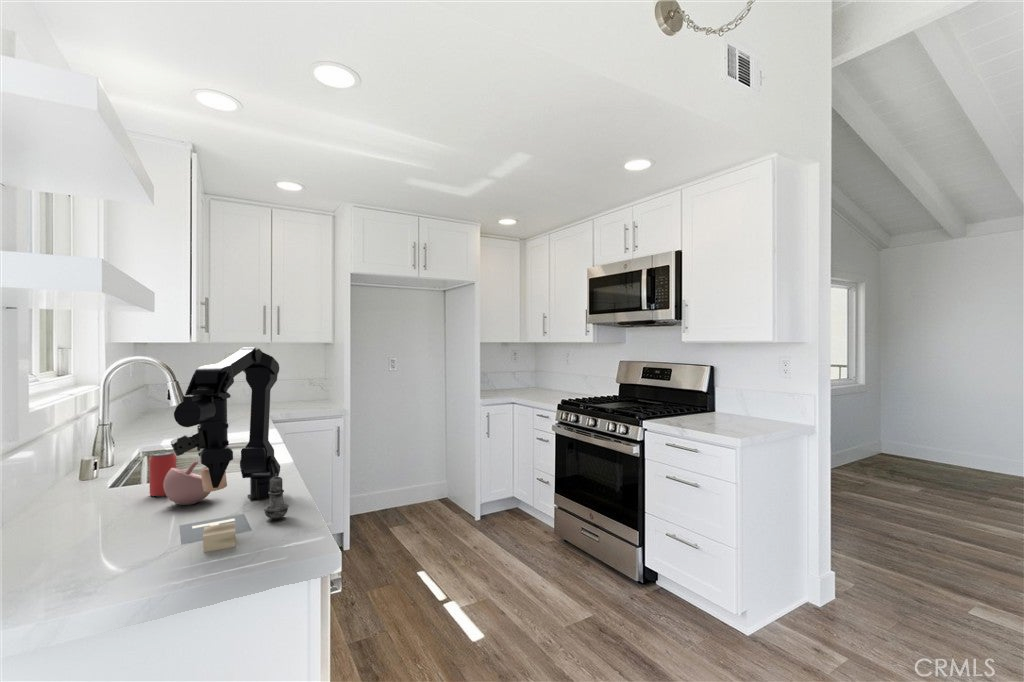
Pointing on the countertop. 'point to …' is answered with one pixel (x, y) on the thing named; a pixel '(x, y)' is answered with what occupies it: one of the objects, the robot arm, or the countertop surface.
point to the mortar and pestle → (184, 486)
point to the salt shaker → (276, 502)
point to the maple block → (219, 537)
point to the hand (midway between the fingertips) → (214, 484)
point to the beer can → (160, 471)
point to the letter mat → (196, 530)
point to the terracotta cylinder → (207, 481)
